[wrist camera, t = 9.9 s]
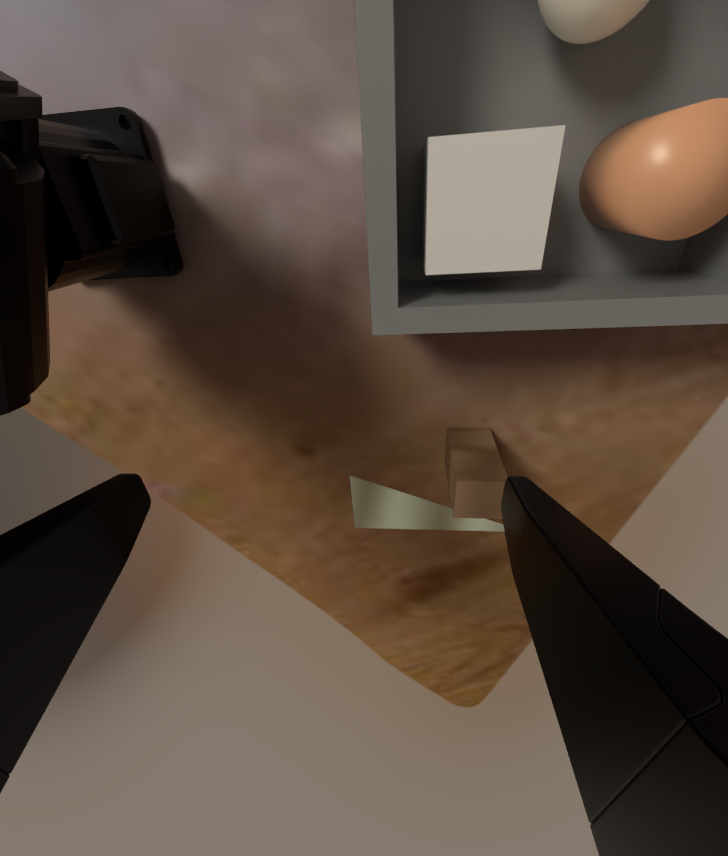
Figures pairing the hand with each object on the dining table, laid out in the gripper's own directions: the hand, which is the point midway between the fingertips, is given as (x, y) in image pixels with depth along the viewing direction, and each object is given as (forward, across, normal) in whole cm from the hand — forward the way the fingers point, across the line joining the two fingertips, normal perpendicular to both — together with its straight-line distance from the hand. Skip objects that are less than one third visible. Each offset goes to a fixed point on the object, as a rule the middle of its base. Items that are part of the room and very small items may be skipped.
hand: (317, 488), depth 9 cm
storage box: (+13, -8, -8) cm, 17 cm away
